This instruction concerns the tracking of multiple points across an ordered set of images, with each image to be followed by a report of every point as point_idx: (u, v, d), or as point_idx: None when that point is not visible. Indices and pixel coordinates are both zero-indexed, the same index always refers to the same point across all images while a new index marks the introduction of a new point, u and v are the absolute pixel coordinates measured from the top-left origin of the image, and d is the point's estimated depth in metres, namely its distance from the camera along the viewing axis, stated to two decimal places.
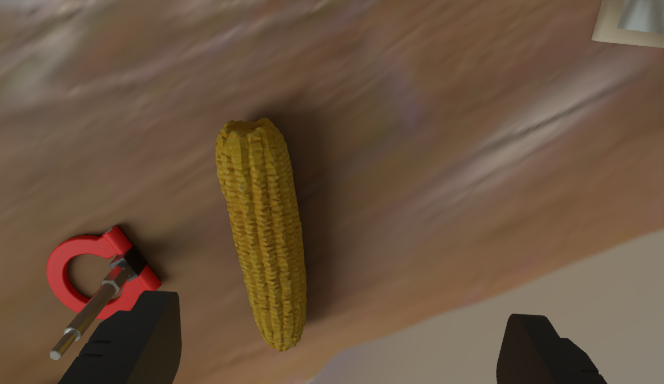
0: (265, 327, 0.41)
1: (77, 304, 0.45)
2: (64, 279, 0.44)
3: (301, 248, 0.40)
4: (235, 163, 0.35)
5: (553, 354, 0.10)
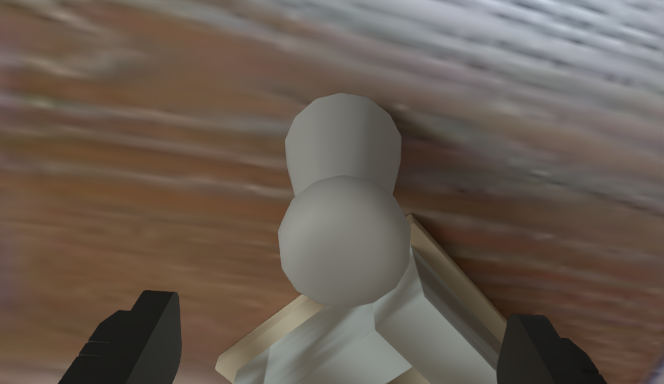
0: None
1: None
2: None
3: None
4: None
5: (553, 354, 0.10)
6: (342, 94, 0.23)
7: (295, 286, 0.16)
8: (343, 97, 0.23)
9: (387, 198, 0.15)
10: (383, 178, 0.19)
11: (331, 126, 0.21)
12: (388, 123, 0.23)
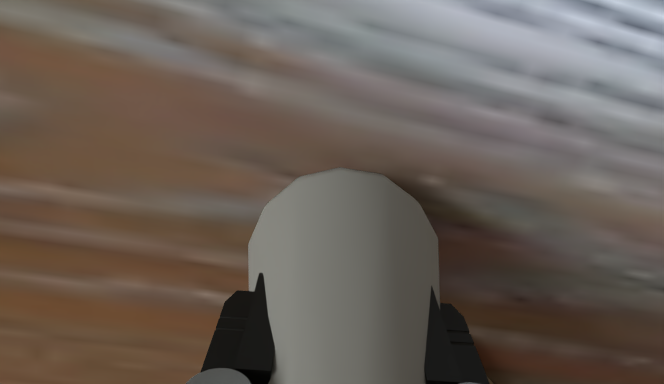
0: None
1: None
2: None
3: None
4: None
5: None
6: (341, 173, 0.14)
7: None
8: (343, 179, 0.14)
9: None
10: None
11: (322, 249, 0.11)
12: (419, 224, 0.14)
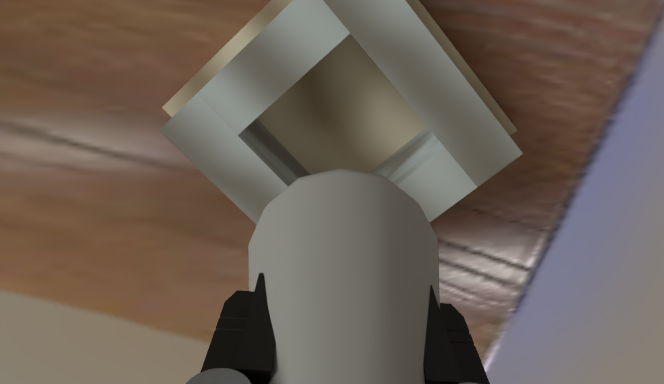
0: None
1: None
2: None
3: None
4: None
5: None
6: (341, 174, 0.14)
7: None
8: (343, 180, 0.14)
9: None
10: None
11: (322, 250, 0.11)
12: (419, 225, 0.14)
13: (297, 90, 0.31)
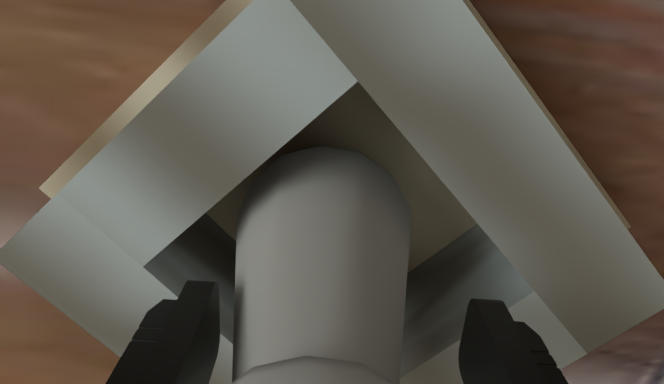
0: None
1: None
2: None
3: None
4: None
5: (505, 335, 0.11)
6: (321, 149, 0.15)
7: None
8: (322, 154, 0.15)
9: None
10: (387, 317, 0.11)
11: (299, 212, 0.13)
12: (392, 194, 0.15)
13: (265, 162, 0.18)
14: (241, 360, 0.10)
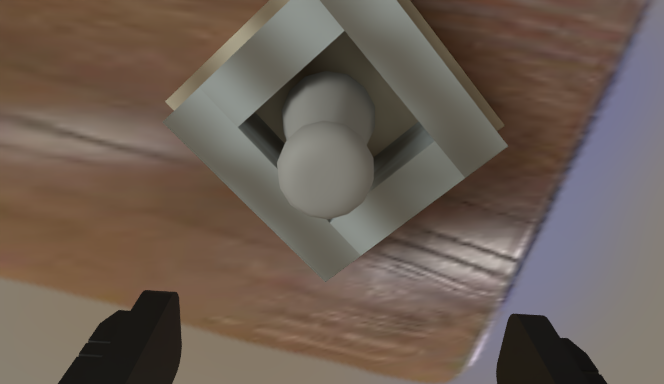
0: None
1: None
2: None
3: None
4: None
5: (553, 354, 0.10)
6: (326, 71, 0.29)
7: (290, 202, 0.22)
8: (327, 73, 0.29)
9: (355, 135, 0.21)
10: (356, 129, 0.25)
11: (317, 94, 0.27)
12: (363, 93, 0.29)
13: None
14: None
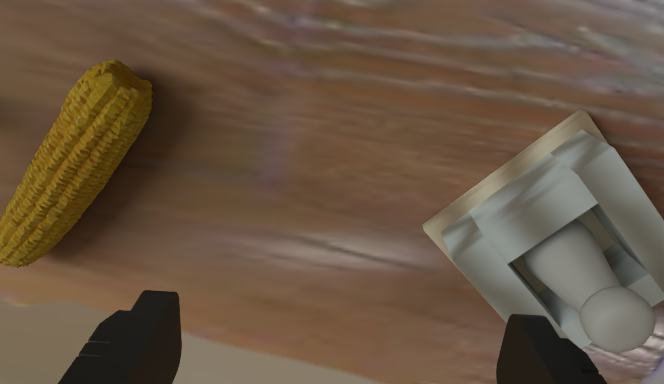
0: (2, 236, 0.40)
1: None
2: None
3: (90, 200, 0.40)
4: (90, 99, 0.35)
5: (553, 354, 0.10)
6: None
7: (596, 342, 0.32)
8: None
9: (644, 300, 0.32)
10: (616, 279, 0.35)
11: (574, 246, 0.37)
12: None
13: None
14: (579, 291, 0.35)
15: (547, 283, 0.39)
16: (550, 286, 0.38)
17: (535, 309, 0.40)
